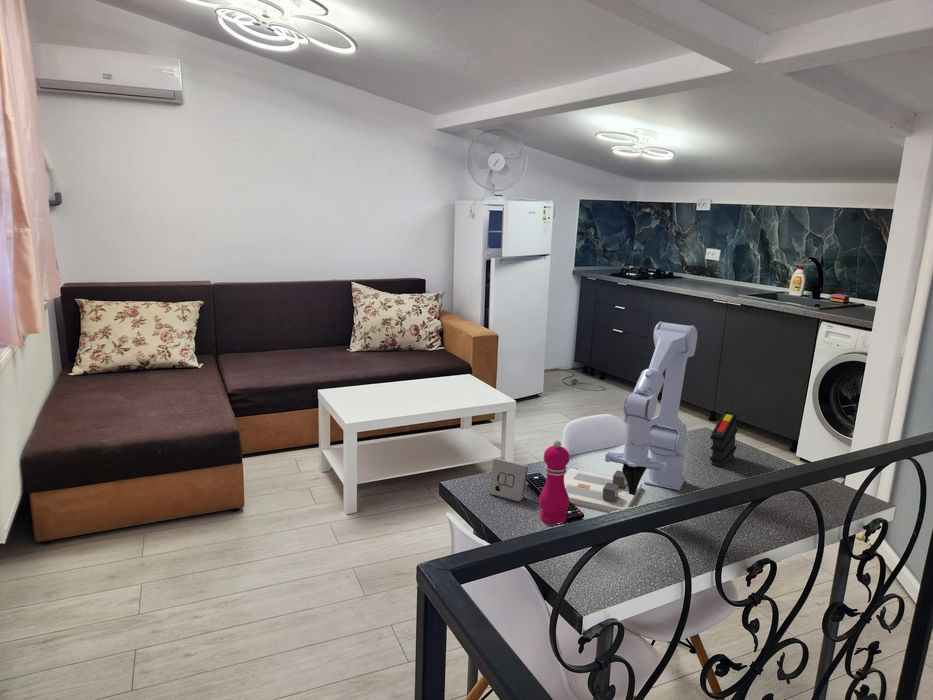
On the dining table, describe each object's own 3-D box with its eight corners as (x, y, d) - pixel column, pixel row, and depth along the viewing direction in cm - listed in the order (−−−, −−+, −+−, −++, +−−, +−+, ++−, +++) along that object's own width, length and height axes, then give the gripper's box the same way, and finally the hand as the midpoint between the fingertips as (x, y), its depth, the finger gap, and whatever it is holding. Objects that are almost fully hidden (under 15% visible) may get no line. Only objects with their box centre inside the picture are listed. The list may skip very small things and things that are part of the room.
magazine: (739, 449, 201) (737, 412, 193) (723, 478, 193) (720, 441, 186) (726, 446, 203) (724, 409, 196) (710, 475, 196) (707, 437, 188)
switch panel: (641, 488, 177) (641, 482, 176) (625, 515, 161) (625, 509, 161) (569, 473, 185) (570, 467, 185) (547, 497, 170) (548, 491, 169)
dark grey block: (627, 482, 175) (628, 472, 175) (623, 487, 172) (624, 478, 171) (616, 480, 177) (616, 470, 176) (612, 485, 173) (613, 475, 173)
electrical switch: (487, 494, 171) (490, 460, 170) (496, 488, 176) (499, 455, 174) (520, 503, 167) (523, 467, 165) (528, 497, 171) (531, 463, 170)
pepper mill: (532, 514, 161) (536, 437, 156) (558, 509, 163) (562, 433, 159) (547, 528, 154) (551, 447, 150) (574, 522, 157) (578, 443, 152)
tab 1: (618, 495, 168) (619, 484, 167) (614, 501, 164) (614, 490, 164) (606, 492, 169) (607, 482, 168) (602, 498, 166) (603, 488, 165)
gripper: (603, 441, 160) (599, 493, 163) (664, 452, 154) (659, 506, 157) (610, 432, 166) (607, 482, 169) (669, 443, 160) (664, 494, 163)
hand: (632, 493), depth 164 cm, fingers closed
